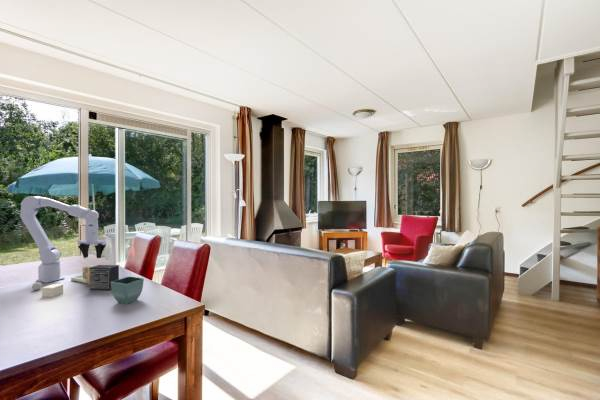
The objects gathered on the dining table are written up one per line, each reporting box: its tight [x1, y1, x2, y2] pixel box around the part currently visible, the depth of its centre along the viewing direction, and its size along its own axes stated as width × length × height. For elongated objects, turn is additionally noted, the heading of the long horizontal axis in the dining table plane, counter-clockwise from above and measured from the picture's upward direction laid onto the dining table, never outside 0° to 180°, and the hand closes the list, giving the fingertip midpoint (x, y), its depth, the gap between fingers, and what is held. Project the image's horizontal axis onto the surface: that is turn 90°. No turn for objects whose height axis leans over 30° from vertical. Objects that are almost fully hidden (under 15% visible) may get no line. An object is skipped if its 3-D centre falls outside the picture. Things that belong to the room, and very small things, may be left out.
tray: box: [70, 274, 87, 284], centre depth 154 cm, size 12×12×2 cm
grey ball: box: [31, 281, 43, 291], centre depth 137 cm, size 4×4×4 cm
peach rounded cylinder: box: [86, 273, 90, 286], centre depth 146 cm, size 4×4×5 cm
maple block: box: [82, 264, 94, 279], centre depth 154 cm, size 4×4×6 cm
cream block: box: [41, 283, 64, 298], centre depth 130 cm, size 5×5×4 cm
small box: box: [89, 264, 120, 291], centre depth 140 cm, size 11×6×10 cm, turn 84°
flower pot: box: [111, 276, 145, 305], centre depth 122 cm, size 9×9×9 cm
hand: (92, 257), depth 159 cm, fingers open, 7 cm apart
